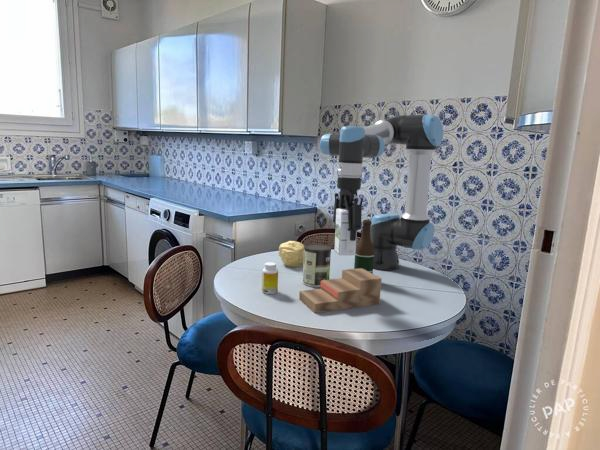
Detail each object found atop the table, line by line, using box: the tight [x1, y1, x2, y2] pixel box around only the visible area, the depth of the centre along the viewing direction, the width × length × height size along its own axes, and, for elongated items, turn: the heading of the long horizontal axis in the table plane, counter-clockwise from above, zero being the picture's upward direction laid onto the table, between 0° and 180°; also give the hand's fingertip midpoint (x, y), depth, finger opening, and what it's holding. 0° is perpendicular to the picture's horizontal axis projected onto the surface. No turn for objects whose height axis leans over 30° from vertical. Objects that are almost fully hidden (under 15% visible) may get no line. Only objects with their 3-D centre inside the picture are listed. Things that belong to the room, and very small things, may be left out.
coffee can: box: [302, 243, 332, 288], centre depth 156 cm, size 10×10×14 cm
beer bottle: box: [353, 219, 374, 274], centre depth 161 cm, size 8×8×24 cm
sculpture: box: [278, 240, 305, 268], centre depth 179 cm, size 12×12×11 cm
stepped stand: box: [298, 268, 382, 314], centre depth 139 cm, size 24×12×9 cm, turn 114°
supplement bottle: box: [261, 261, 279, 295], centre depth 145 cm, size 6×6×10 cm
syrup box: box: [333, 208, 358, 256], centre depth 135 cm, size 6×6×14 cm
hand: (344, 247), depth 136 cm, fingers closed on syrup box, 6 cm apart
